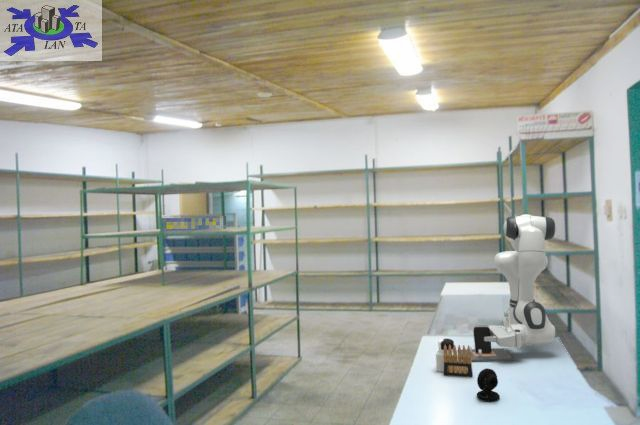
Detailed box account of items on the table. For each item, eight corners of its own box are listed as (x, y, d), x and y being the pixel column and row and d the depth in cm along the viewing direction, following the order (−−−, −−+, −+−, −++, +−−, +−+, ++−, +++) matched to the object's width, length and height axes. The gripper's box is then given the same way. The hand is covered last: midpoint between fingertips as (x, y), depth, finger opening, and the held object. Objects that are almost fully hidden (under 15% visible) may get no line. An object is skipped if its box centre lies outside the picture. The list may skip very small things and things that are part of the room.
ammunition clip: (472, 375, 194) (471, 344, 193) (472, 377, 192) (470, 346, 192) (444, 373, 197) (442, 343, 197) (443, 375, 196) (442, 344, 195)
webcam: (486, 404, 167) (485, 374, 167) (471, 396, 174) (470, 367, 174) (504, 399, 170) (503, 369, 170) (489, 391, 177) (487, 363, 177)
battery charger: (492, 351, 218) (489, 324, 218) (492, 353, 214) (489, 326, 214) (475, 351, 220) (472, 324, 220) (475, 353, 216) (472, 326, 216)
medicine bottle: (457, 367, 204) (456, 337, 203) (454, 373, 197) (453, 342, 197) (440, 365, 207) (438, 336, 206) (436, 371, 200) (435, 341, 200)
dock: (457, 351, 223) (457, 342, 223) (503, 350, 221) (503, 341, 221) (463, 362, 209) (463, 352, 209) (513, 360, 207) (512, 351, 207)
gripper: (507, 321, 224) (475, 322, 225) (521, 333, 204) (486, 334, 205) (507, 335, 224) (476, 336, 225) (522, 349, 204) (487, 350, 205)
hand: (481, 335), depth 215 cm, fingers open, 8 cm apart
